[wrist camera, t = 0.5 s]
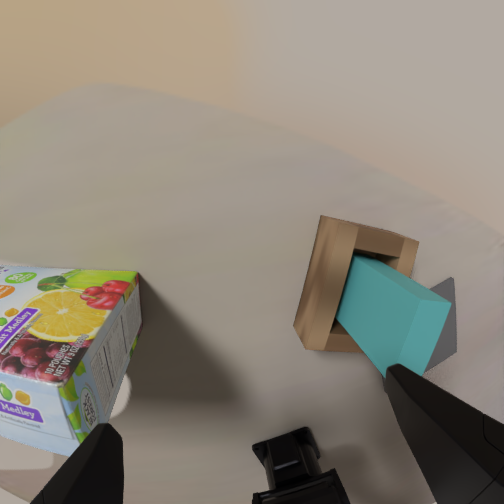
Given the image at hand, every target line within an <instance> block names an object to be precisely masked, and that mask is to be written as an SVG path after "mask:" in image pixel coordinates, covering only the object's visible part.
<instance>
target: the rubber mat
mask: <svg viewBox="0 0 504 504" xmlns="http://www.w3.org/2000/svg"><path fill="white" fill-rule="evenodd" d="M429 290H431V291H432V292H434V293H436V294H438V295H439V296H441V297H443V298H444V299H446V300H447V301H449V302H451V303H452V304H451V307H450V310H449V312H448V315H447V318H446V320H445V323H444V326H443V328H442V331H441V333H440V336H439V338H438V341H437V343H436V346H435V348H434V350H433V353H432V355H431V357H430V359H429V362H428V364H427V366H426V368H425V370H424V372H426V371H428V370H429V369H431V368H432V367H434V366H436V365H437V364H439V363H440V362H442V361H444V360H445V359H447V358H448V357H450V356H451V355H453V354H454V353H456V352H457V331H456V303H455V288H454V278H452V277H450V278H448V279H447V280H445V281H443V282H442V283H440V284H438V285H436V286H435V287H433V288H431V289H429ZM382 377H383V383H384V389H385V377H384V376H383V375H382ZM385 392H386V389H385ZM386 393H387V392H386Z"/></svg>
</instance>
